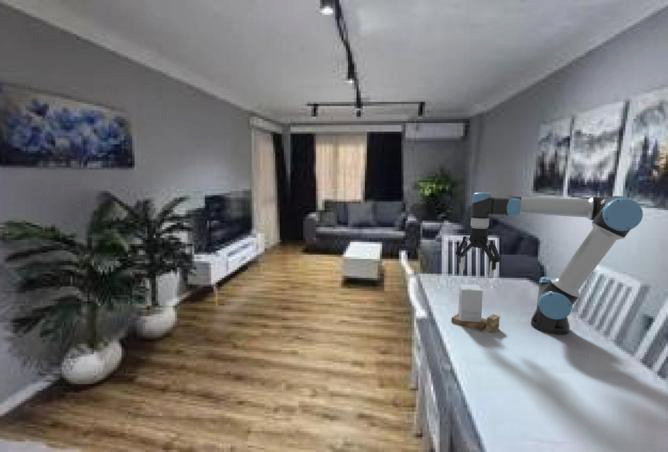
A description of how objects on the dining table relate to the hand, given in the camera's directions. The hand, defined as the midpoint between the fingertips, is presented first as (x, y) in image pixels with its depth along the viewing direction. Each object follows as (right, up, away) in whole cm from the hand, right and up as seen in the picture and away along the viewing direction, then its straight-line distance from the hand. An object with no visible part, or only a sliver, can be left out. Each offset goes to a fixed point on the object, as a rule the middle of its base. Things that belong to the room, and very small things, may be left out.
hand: (476, 273), depth 166 cm
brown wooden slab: (-1, -24, +3) cm, 25 cm away
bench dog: (+6, -25, -3) cm, 25 cm away
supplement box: (-2, -21, +4) cm, 22 cm away
